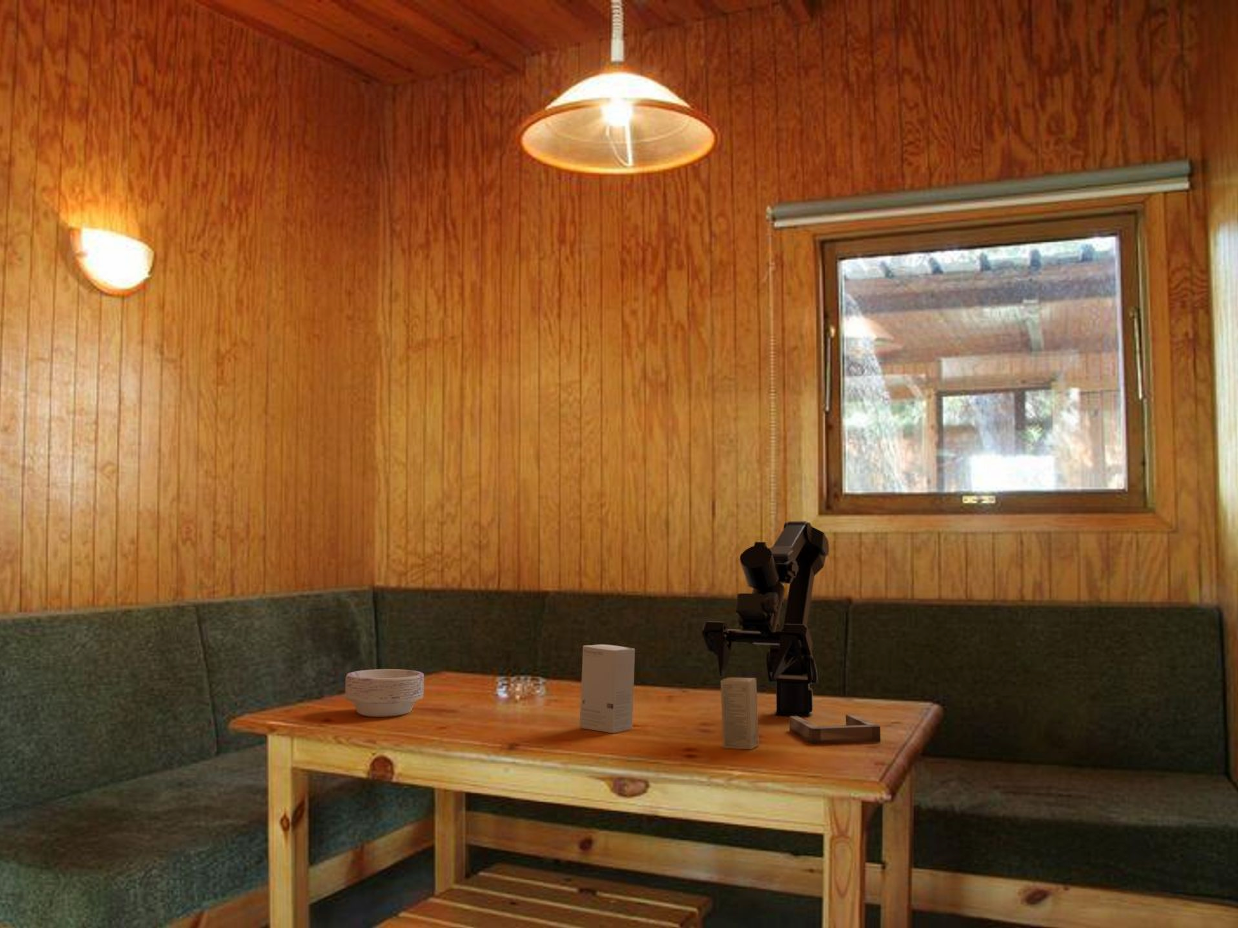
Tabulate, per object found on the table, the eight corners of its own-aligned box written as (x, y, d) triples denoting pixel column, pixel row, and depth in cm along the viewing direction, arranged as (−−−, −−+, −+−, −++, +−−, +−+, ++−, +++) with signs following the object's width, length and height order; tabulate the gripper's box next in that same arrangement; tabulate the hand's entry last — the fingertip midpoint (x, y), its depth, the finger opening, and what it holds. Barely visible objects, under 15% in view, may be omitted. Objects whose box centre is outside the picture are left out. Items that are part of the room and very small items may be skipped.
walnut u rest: (789, 730, 186) (789, 716, 186) (853, 728, 187) (853, 713, 188) (812, 743, 174) (811, 728, 174) (880, 741, 176) (880, 726, 176)
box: (759, 745, 173) (758, 677, 174) (751, 750, 169) (750, 681, 170) (729, 742, 175) (728, 676, 176) (720, 747, 171) (719, 679, 172)
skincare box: (579, 728, 189) (578, 645, 190) (601, 723, 193) (600, 642, 194) (614, 734, 183) (614, 648, 184) (636, 729, 188) (635, 645, 189)
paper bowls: (439, 712, 206) (439, 672, 207) (374, 723, 195) (375, 680, 196) (393, 704, 217) (394, 665, 217) (329, 714, 205) (330, 673, 206)
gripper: (704, 575, 186) (682, 643, 176) (807, 577, 179) (791, 648, 168) (719, 617, 193) (699, 685, 182) (819, 620, 185) (804, 691, 175)
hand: (746, 676), depth 177 cm, fingers open, 9 cm apart
